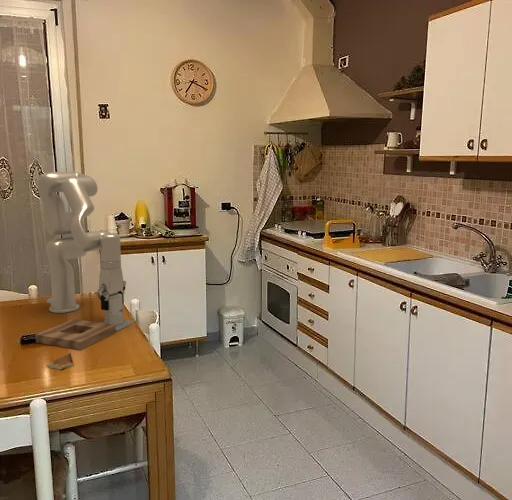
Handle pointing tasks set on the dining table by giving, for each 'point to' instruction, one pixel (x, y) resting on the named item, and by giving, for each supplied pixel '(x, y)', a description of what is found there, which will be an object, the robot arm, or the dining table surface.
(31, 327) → the dining table surface
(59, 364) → the shard
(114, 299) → the skincare box
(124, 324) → the grey mat
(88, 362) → the dining table surface
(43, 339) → the walnut holder
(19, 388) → the dining table surface
